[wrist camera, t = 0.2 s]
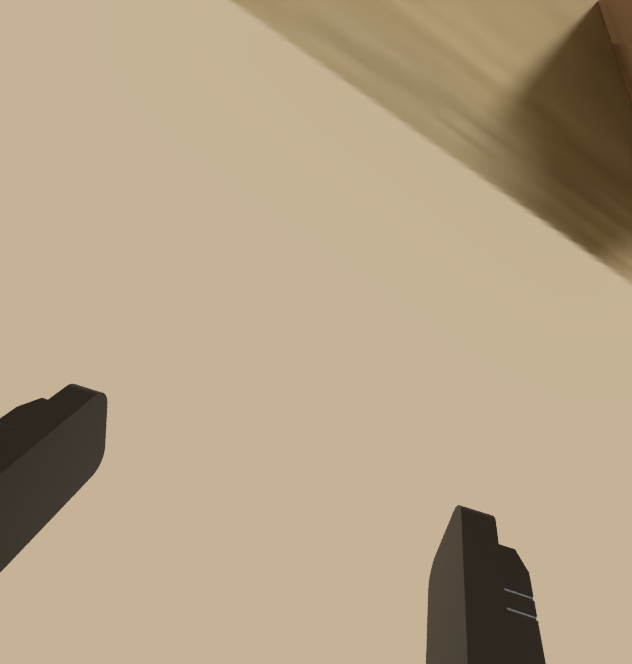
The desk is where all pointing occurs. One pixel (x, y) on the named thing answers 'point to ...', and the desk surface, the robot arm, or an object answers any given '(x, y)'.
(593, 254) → the desk surface
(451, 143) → the desk surface
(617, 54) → the console
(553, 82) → the desk surface
